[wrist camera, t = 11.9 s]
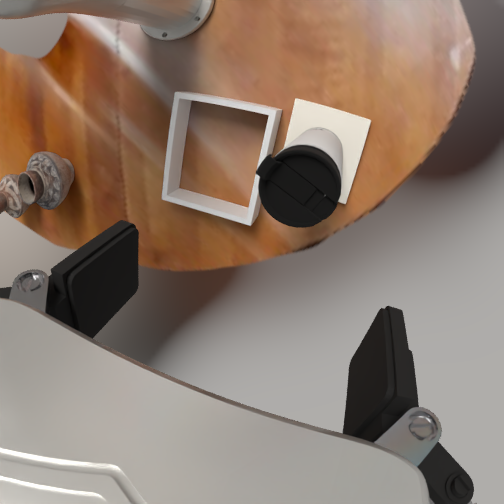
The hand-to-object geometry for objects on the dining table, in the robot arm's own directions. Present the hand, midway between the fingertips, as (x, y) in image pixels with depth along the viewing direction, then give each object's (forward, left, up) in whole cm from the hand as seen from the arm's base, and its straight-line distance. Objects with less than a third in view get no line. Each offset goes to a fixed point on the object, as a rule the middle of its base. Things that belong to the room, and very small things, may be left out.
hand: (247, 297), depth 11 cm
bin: (+4, -13, -34) cm, 37 cm away
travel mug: (0, 0, -33) cm, 33 cm away
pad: (0, 0, -34) cm, 34 cm away
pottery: (+17, -52, -35) cm, 65 cm away
